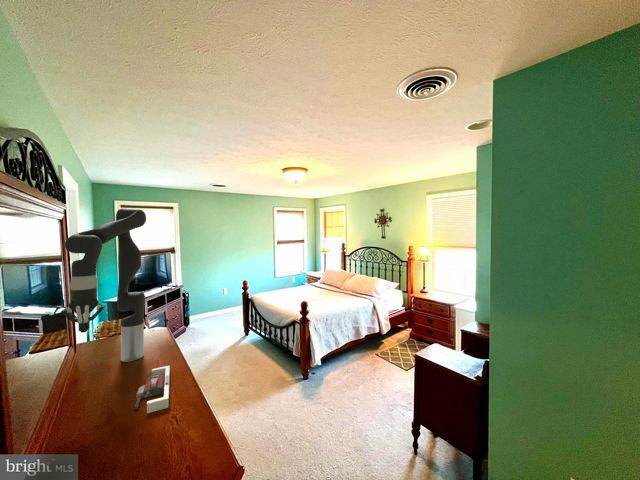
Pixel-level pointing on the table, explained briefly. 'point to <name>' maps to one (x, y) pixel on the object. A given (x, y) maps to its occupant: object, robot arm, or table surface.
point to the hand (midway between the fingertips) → (84, 331)
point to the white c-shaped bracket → (164, 401)
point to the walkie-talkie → (151, 387)
